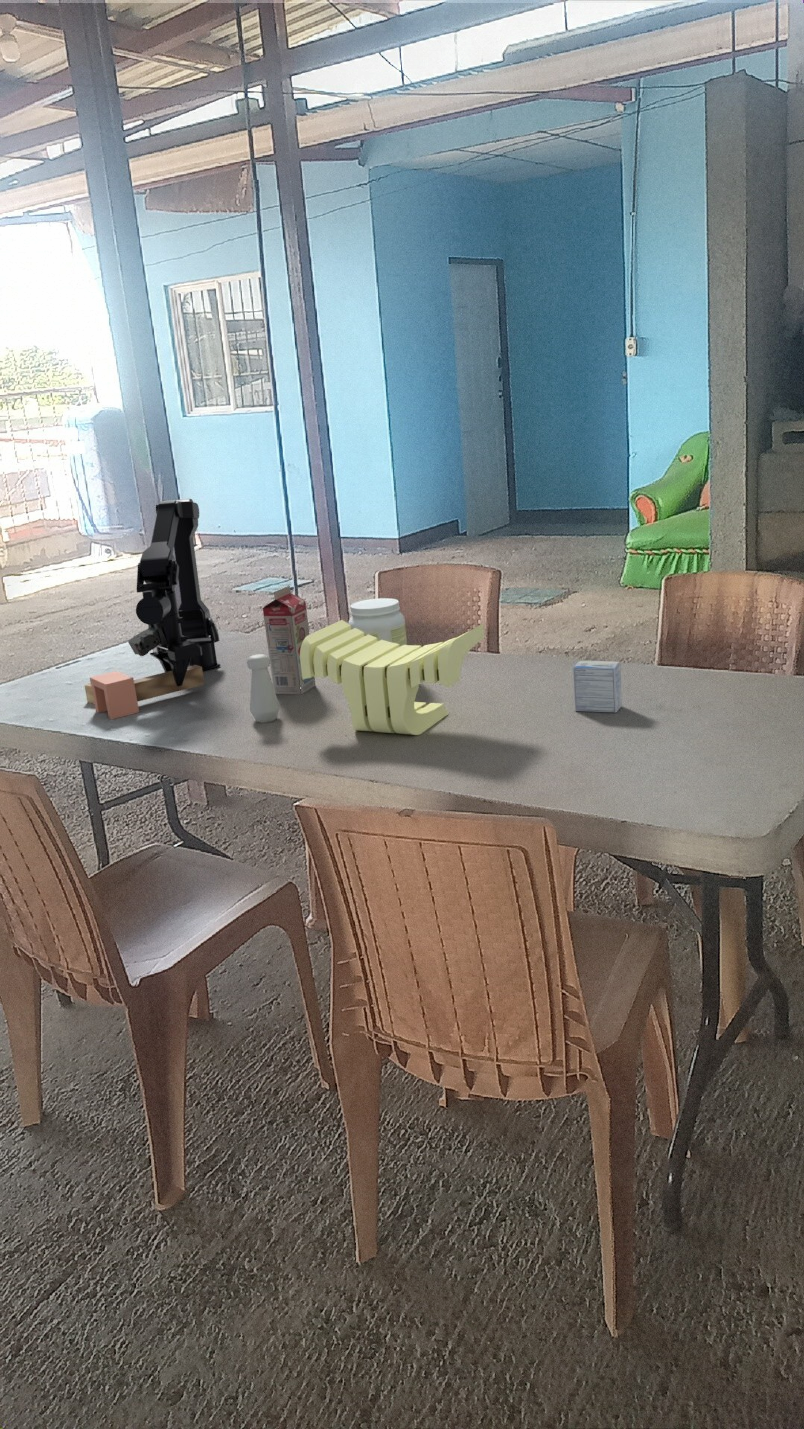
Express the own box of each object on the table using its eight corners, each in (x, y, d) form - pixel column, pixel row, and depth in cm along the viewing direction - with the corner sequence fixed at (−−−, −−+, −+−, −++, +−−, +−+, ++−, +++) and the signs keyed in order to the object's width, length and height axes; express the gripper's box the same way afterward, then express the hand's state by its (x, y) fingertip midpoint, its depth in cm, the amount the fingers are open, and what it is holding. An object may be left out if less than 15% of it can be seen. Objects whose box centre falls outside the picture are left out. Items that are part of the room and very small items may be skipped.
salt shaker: (285, 715, 214) (277, 651, 210) (273, 724, 208) (264, 659, 205) (259, 714, 216) (250, 651, 212) (246, 723, 210) (237, 659, 207)
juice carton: (273, 693, 229) (260, 592, 223) (288, 684, 235) (275, 585, 229) (301, 694, 227) (288, 591, 220) (315, 685, 233) (303, 585, 226)
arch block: (122, 704, 232) (116, 670, 230) (139, 712, 225) (133, 677, 223) (95, 711, 229) (89, 677, 227) (111, 719, 222) (105, 684, 220)
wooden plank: (198, 682, 239) (195, 664, 238) (204, 684, 236) (201, 666, 235) (122, 701, 229) (118, 683, 228) (127, 704, 226) (124, 686, 225)
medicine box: (622, 706, 199) (621, 661, 197) (616, 713, 196) (615, 667, 193) (581, 704, 203) (579, 660, 200) (574, 711, 199) (572, 666, 196)
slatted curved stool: (309, 732, 202) (297, 640, 196) (351, 706, 215) (341, 619, 210) (454, 744, 188) (446, 645, 182) (490, 716, 201) (483, 623, 196)
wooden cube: (101, 697, 240) (98, 680, 239) (113, 699, 238) (110, 681, 236) (87, 702, 237) (84, 685, 236) (99, 704, 235) (96, 686, 233)
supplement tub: (398, 669, 239) (391, 594, 234) (418, 681, 228) (411, 603, 223) (346, 678, 236) (338, 603, 231) (364, 691, 225) (356, 612, 220)
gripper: (112, 616, 232) (124, 686, 237) (148, 627, 218) (160, 701, 222) (159, 606, 238) (170, 674, 243) (197, 616, 224) (208, 688, 228)
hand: (176, 684), depth 234 cm, fingers closed on wooden plank, 3 cm apart
